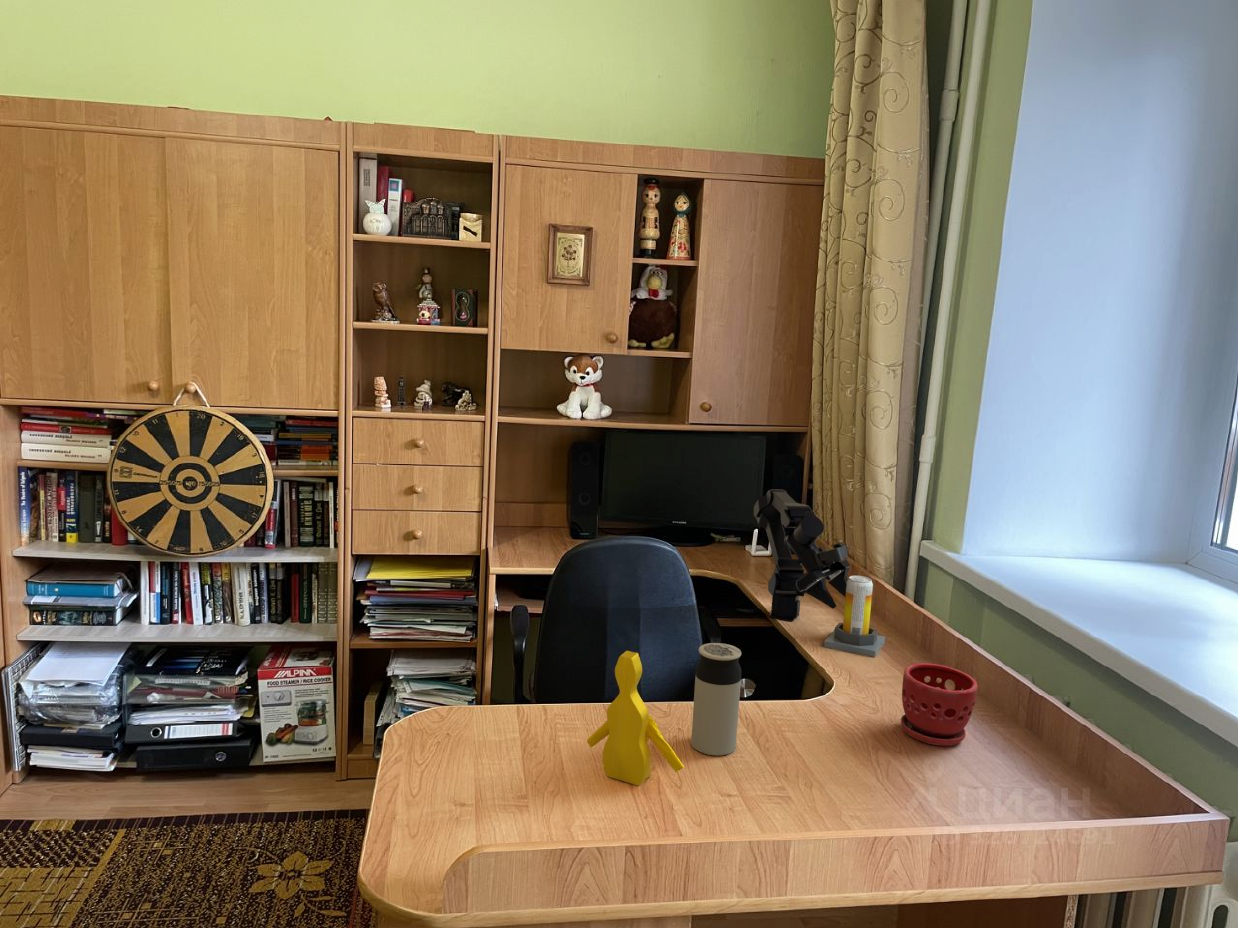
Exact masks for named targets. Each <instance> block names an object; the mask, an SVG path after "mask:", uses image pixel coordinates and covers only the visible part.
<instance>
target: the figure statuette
mask: <svg viewBox="0 0 1238 928" xmlns="http://www.w3.org/2000/svg"><path fill="white" fill-rule="evenodd" d="M642 674H643V665H642V662H641V658H640V656H639V652H634V651H630V650H626V651H624V652H623V653H622V654H620V656H619V657H618V659H617V662H616V665H615V667H614V676H615V679H616V682H617V686H618V688H619V693H618V695H617V696H616V697H615V699H614V700H613V701H612V702H611V703H610V704H609V706H608V707H607V709H606V719H607V720H605V722H604V723H603V724H602V725H600V726H599V727H598V729H596V730H595V731H594V732H593V733H592V734H591V735H590V736H589V737H588V738H587V739H586V742H587V744H588V746H589V747H590V748H593V747H594V746H596V745H597V744H598V743H600V742H601V741H602V740H604V739H605V738H606V737H607V738H606V741H605V743H604V746H603V749H602V750H603V751H602V765H603V770H604V773H605V775H606V776H607V777H608V778H612V779H614V780H615V779H616V780H618V781H622V782H625V783H628V784H631V785H634V786H638V787H639V786H641V785H642V784H643V783H644V781H646V780H647V779H648V778H650V776H651V766H652V765H651V764H652V761H651V760H652V759H651V757H652V756H651V751H650V747H649V743H648V741H649V740H650V741H651V742H652V743H653V744H654V746H655V747H656V749H658V751H659V752H660V754H661V755H662V756H663V758H664V759H665V760H666V762H667V763H668V765H670V767H671V768H672V770H673V771H674V772H675V773H677V772H680V771H681V770H682V769H684V768H685V766H684V764H683V763H682V762H681V759H679V756H678V755H677V754H676V753H675V751H674V749H673V748H672V747H671V745H670V744H669V742H667V741H666V740H665V738H664V736H663V734H662V733H661V731H660V729H659V726H658V725H657V723H656V720H655V719H654V718H653V717H652V716H650V714H649V709H648V708H647V706H646V704H645V703H644V701H643V699H642V698H641V696H640V694H639V692H638V684H639V682H640V679H641V678H642Z"/></svg>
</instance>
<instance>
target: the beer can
mask: <svg viewBox="0 0 1238 928" xmlns="http://www.w3.org/2000/svg"><path fill="white" fill-rule="evenodd" d="M873 587H874V584H873V581H872V579H871V578H870V577H867V576H863V575H850V576H849V577H848V578H847V585H846V597H844V598H845V599H844V609H843V620H842V623H843V631H845V632H848V633H853V634H858V635H864V634H868V633H869V626H870V622H871V621H870V620H871V611H872V610H871V608H872V598H873Z"/></svg>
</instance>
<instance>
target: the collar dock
mask: <svg viewBox="0 0 1238 928" xmlns="http://www.w3.org/2000/svg"><path fill="white" fill-rule="evenodd" d="M878 632H879V631H878V630H877V629H876V628H875V627H872V626H870V625H869V633H868V634H864V635H858V634H853V633H848V632H845V631H843V622H838V623H837V624H836V626H834V629H833V630H832V632H831V633H830V634H829V635H828V636H827V638H826V639H825V640H824V645H823V647H824V648H827V649H832V650H836V649H837V650H836V651H841V650H842V651H841V652H847V653H852V654H857V655H861V656H865V655H866V656H865V657H870V658H876V657H877V655H878V654H879V652H880V651H881V649H882V648H883V646H884V645H885V643H886V636H883V635H878ZM879 650H880V651H879Z"/></svg>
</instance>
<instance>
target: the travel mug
mask: <svg viewBox="0 0 1238 928" xmlns="http://www.w3.org/2000/svg"><path fill="white" fill-rule="evenodd" d="M698 653H699V655H700V656H699V657H700V658H699V660H698V662H697V663H696V664H695V665H696V666H695V676H694V677H695V678H694V679H695V680H694V696H693V707H692V708H693V711H692V725H691V742H690V743H691V744H690V745H691V746H692V747H693V749H694V750H697V751H698V752H700V753H702V754H705V755H708V756H715V757H716V756H717V757H718V756H726V755H729V754H731V753H733V752H735V750H736V749H737V739H738V737H737V736H738V725H739V724H738V723H739V709H740V698H741V697H740V695H741V694H740V693H741V683H742V682H741V680H742V668H741V664H740V663H739V660H740V657H741V656H742V651H741V649H740V648H738V647H736V646H734V645H731V644H727V643H722V642H721V643H720V642H709V643H704V644H702V645H700V646H699V647H698Z"/></svg>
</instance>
